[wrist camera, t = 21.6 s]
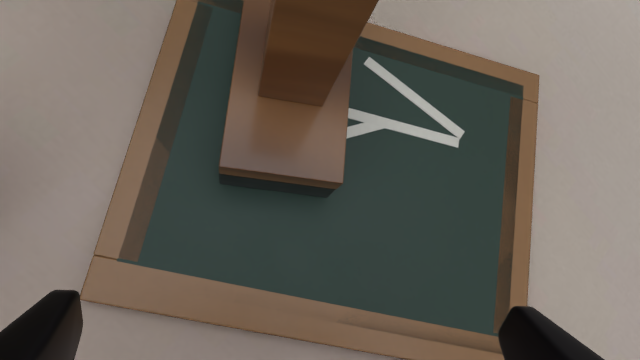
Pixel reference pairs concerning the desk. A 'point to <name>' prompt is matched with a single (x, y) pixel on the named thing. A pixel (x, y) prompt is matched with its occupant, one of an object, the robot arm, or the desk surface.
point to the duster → (291, 95)
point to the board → (332, 203)
